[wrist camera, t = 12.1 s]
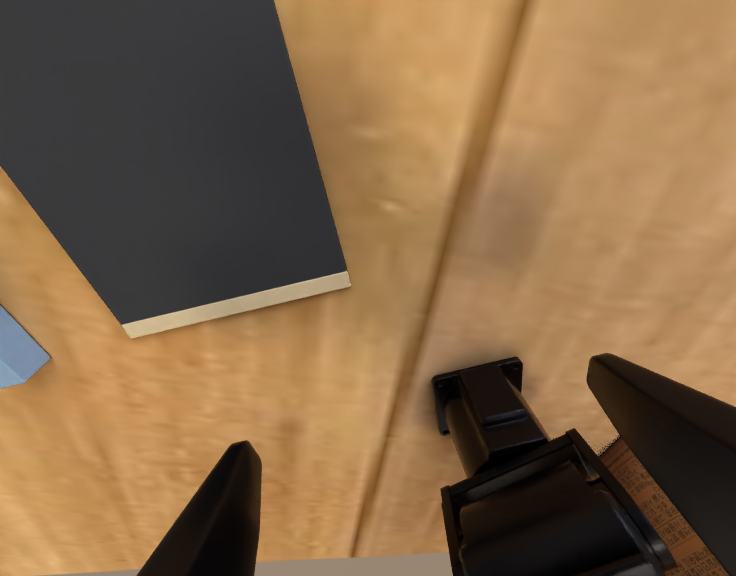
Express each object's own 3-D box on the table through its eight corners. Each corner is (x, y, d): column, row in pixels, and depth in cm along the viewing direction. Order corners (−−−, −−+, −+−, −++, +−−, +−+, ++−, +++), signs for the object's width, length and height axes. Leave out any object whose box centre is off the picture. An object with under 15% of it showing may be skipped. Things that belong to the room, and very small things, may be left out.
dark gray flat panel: (350, 283, 19) (351, 286, 19) (133, 335, 19) (130, 339, 19) (211, -228, 10) (207, -237, 9) (-208, -122, 10) (-225, -128, 9)
